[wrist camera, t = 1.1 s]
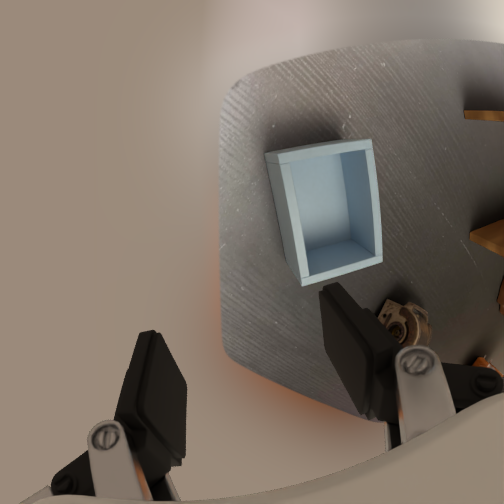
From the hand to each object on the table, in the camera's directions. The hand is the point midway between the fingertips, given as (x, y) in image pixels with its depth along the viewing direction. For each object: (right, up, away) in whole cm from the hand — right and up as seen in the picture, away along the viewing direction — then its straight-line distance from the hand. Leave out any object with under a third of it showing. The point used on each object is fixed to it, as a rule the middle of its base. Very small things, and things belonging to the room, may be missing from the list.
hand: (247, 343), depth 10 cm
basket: (+6, +8, +17) cm, 20 cm away
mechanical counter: (+20, -7, +25) cm, 33 cm away
